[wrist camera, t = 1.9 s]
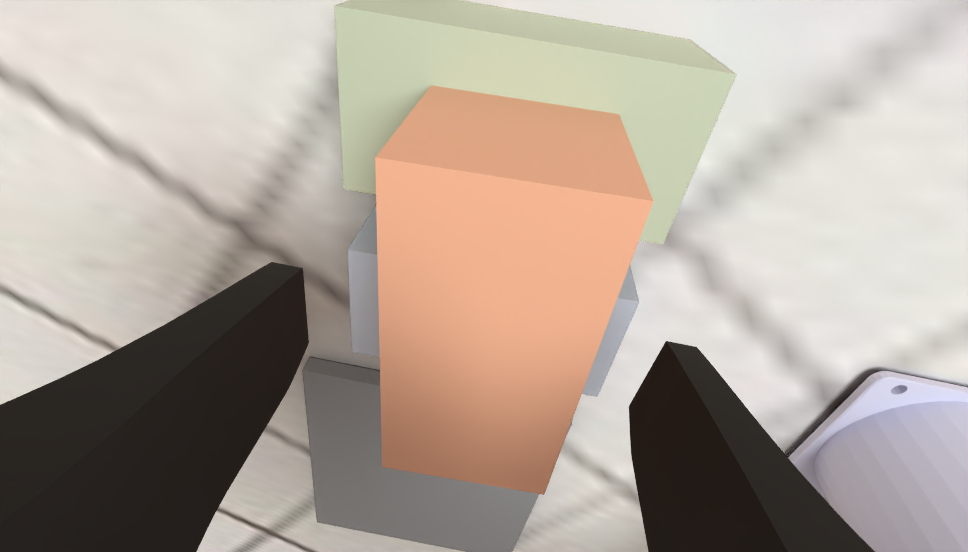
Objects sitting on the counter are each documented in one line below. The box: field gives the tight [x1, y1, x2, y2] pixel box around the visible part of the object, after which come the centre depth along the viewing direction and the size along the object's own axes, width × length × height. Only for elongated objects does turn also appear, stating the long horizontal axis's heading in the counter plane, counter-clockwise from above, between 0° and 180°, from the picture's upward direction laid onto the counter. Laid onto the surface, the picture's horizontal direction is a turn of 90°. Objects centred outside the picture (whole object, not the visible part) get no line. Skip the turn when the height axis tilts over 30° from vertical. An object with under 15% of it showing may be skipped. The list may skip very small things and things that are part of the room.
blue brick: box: [348, 206, 639, 396], centre depth 15 cm, size 8×4×4 cm, turn 82°
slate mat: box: [303, 357, 572, 552], centre depth 25 cm, size 12×14×1 cm
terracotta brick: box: [375, 85, 653, 495], centre depth 11 cm, size 8×4×4 cm, turn 173°
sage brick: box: [334, 0, 737, 245], centre depth 12 cm, size 8×4×4 cm, turn 82°
